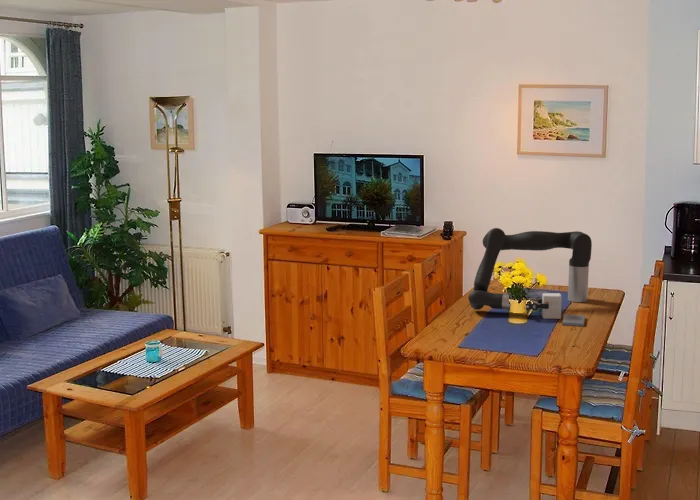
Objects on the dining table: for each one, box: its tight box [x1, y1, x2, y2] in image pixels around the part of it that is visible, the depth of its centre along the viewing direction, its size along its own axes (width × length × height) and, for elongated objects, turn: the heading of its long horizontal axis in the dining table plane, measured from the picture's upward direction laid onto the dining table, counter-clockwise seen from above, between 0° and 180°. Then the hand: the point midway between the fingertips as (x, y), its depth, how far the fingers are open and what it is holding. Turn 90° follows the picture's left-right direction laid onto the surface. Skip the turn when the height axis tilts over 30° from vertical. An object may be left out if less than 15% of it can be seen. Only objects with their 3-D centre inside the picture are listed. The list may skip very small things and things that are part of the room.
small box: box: [541, 292, 563, 320], centre depth 386 cm, size 8×6×10 cm
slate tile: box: [561, 313, 586, 327], centre depth 379 cm, size 14×9×1 cm, turn 163°
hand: (549, 304), depth 386 cm, fingers open, 8 cm apart
